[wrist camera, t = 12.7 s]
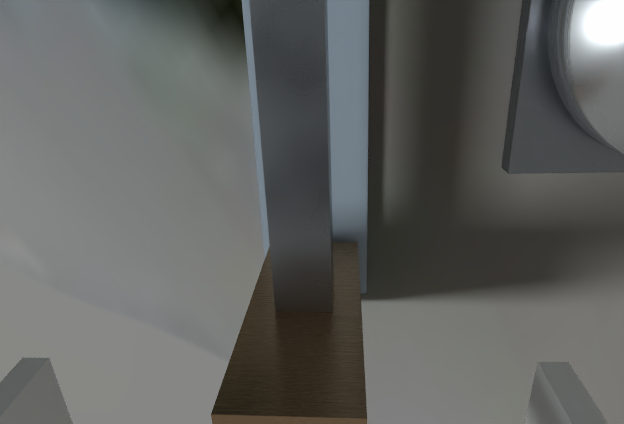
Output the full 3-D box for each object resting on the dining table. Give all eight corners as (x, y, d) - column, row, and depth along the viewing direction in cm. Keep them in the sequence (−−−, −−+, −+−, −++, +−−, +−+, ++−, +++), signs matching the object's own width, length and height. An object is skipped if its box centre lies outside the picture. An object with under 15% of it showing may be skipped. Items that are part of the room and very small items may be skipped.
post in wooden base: (357, 315, 20) (366, 523, 12) (276, 314, 20) (227, 517, 12) (357, -190, 13) (376, -554, 5) (236, -180, 13) (58, -510, 5)
